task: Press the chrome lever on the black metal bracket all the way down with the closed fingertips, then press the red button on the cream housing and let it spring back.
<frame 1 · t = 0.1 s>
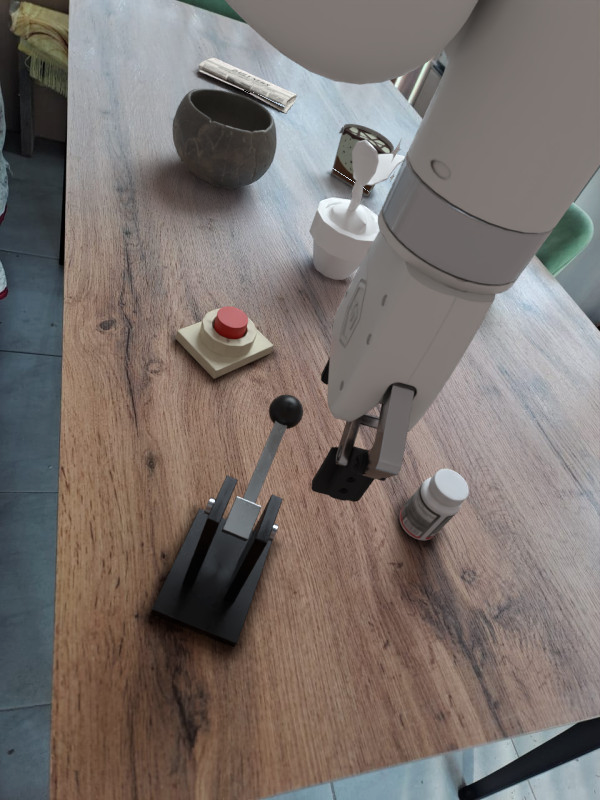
hand: (337, 434, 39), 23 cm above the table, tool pointing down, fingers open, 9 cm apart
lever: (264, 462, 48), point 13 cm above the table, hinge at 25.0°
food container: (355, 182, 120), on the table
white flat branched piece: (384, 229, 110), on the table
pill bottle: (416, 523, 66), on the table
newspaper: (248, 88, 136), on the table
bracket: (214, 576, 54), on the table
button: (231, 322, 72), point 4 cm above the table, slide at 0.1 cm
button box: (224, 346, 75), on the table
bowl: (216, 177, 104), on the table
candle: (471, 288, 106), on the table
potted plant: (333, 269, 95), on the table
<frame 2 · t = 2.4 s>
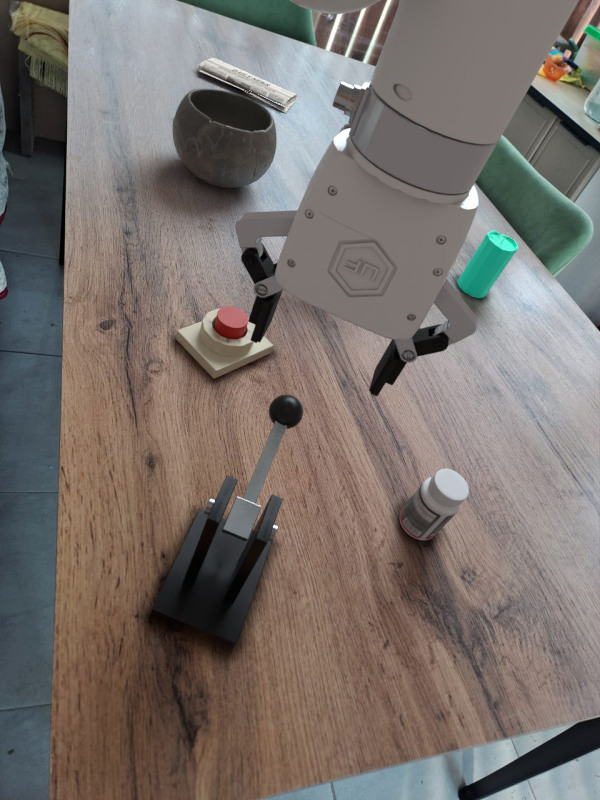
hand: (318, 357, 43), 23 cm above the table, tool pointing down, fingers open, 9 cm apart
nothing on the table moved.
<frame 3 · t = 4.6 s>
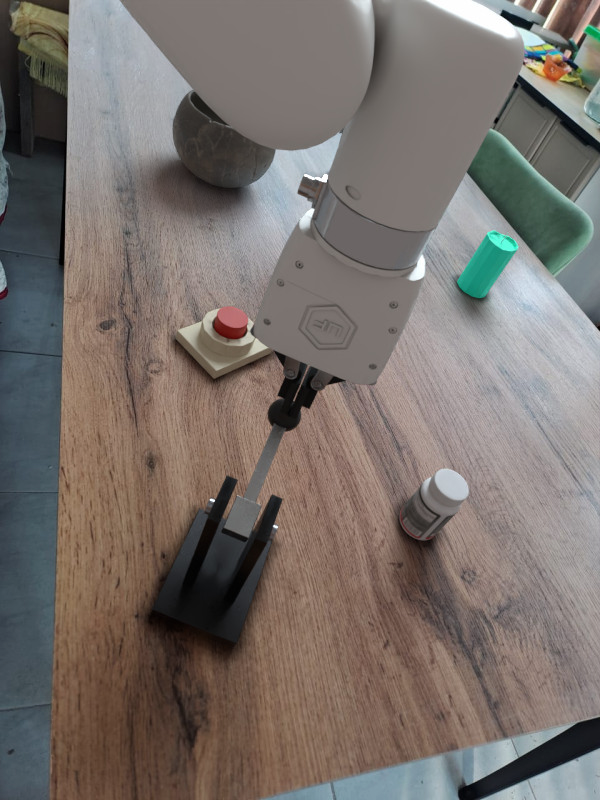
hand: (291, 404, 49), 16 cm above the table, tool pointing down, fingers closed
lever: (264, 464, 48), point 13 cm above the table, hinge at 19.7°, touching gripper
everything else where it was.
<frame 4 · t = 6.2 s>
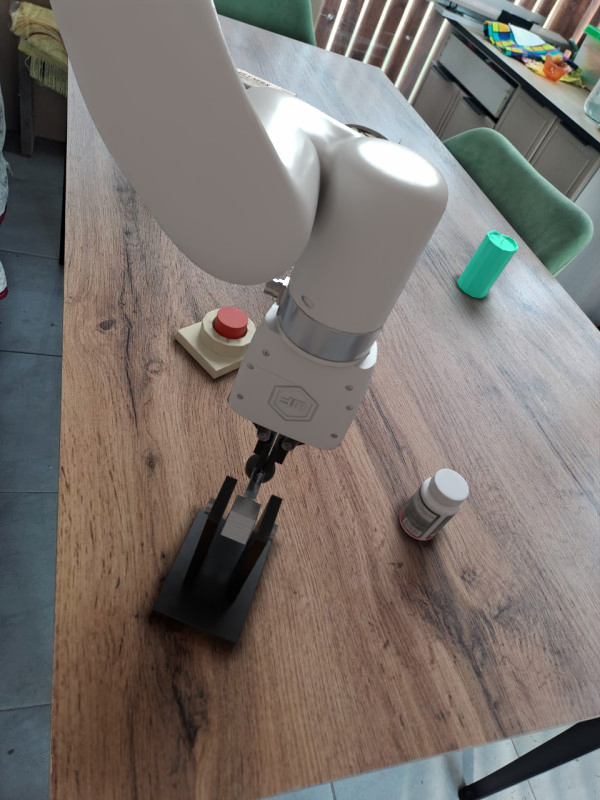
hand: (266, 459, 55), 8 cm above the table, tool pointing down, fingers closed
lever: (251, 491, 51), point 9 cm above the table, hinge at -26.6°, touching gripper
everything else where it was.
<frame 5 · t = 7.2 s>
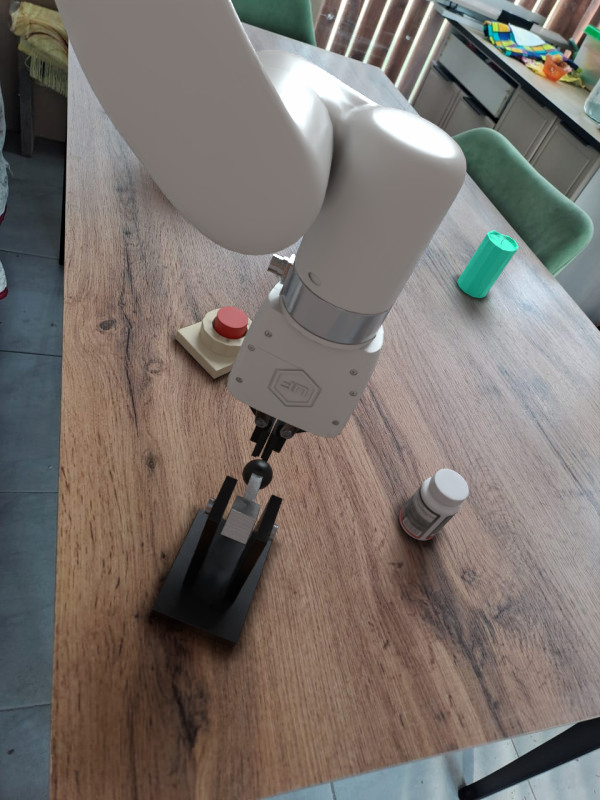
hand: (263, 447, 53), 10 cm above the table, tool pointing down, fingers closed
lever: (250, 494, 51), point 8 cm above the table, hinge at -30.6°
everything else where it was.
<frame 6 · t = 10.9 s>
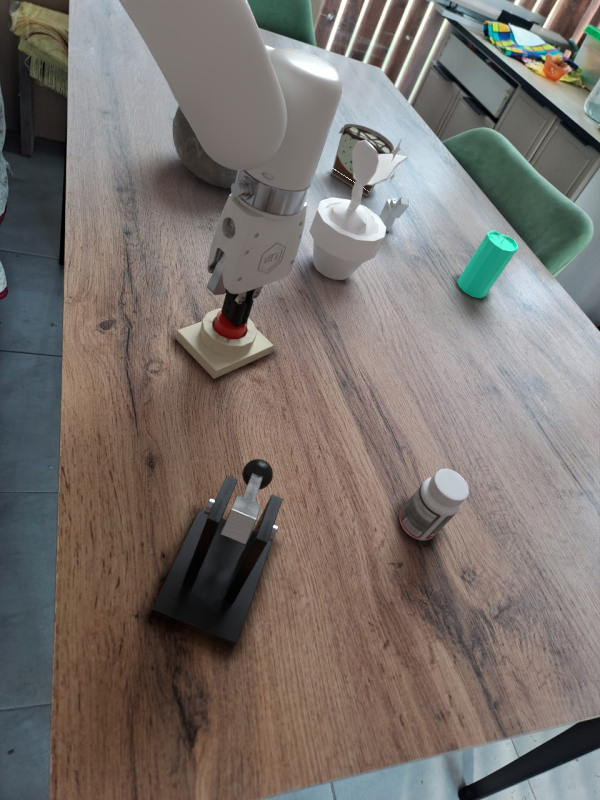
hand: (233, 318, 72), 5 cm above the table, tool pointing down, fingers closed
button: (230, 324, 72), point 4 cm above the table, slide at -0.2 cm, touching gripper
everything else where it was.
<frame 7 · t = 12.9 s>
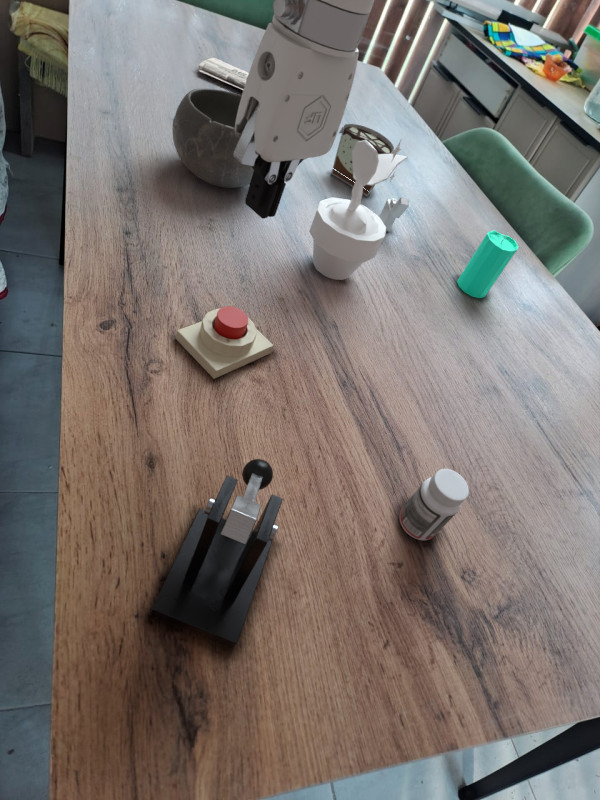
hand: (259, 209, 60), 20 cm above the table, tool pointing down, fingers closed
button: (231, 322, 72), point 4 cm above the table, slide at 0.1 cm
everything else where it was.
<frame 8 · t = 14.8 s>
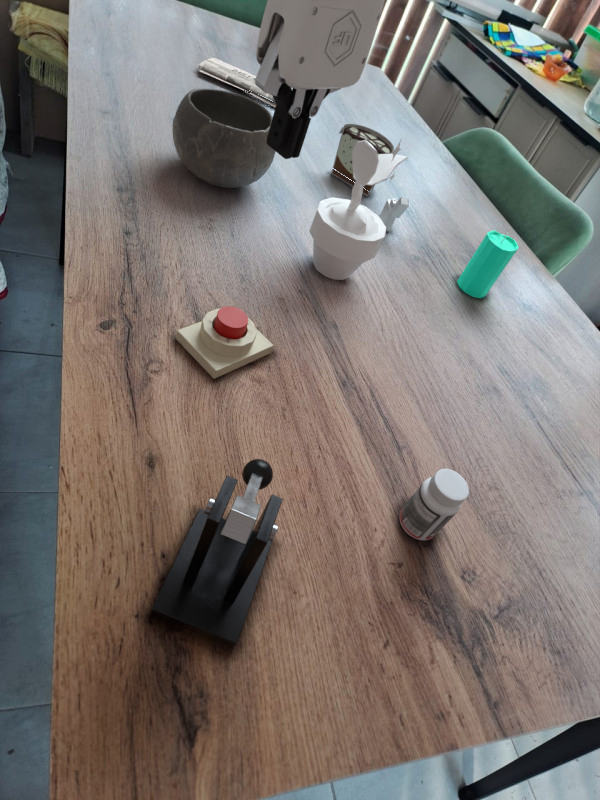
hand: (282, 150, 56), 27 cm above the table, tool pointing down, fingers closed
nothing on the table moved.
at the end: lever at -31° (first picture: +25°); button pushed in 1.3 cm at the most during the clip, back to where it started at the end; button slide at 0.1 cm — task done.
